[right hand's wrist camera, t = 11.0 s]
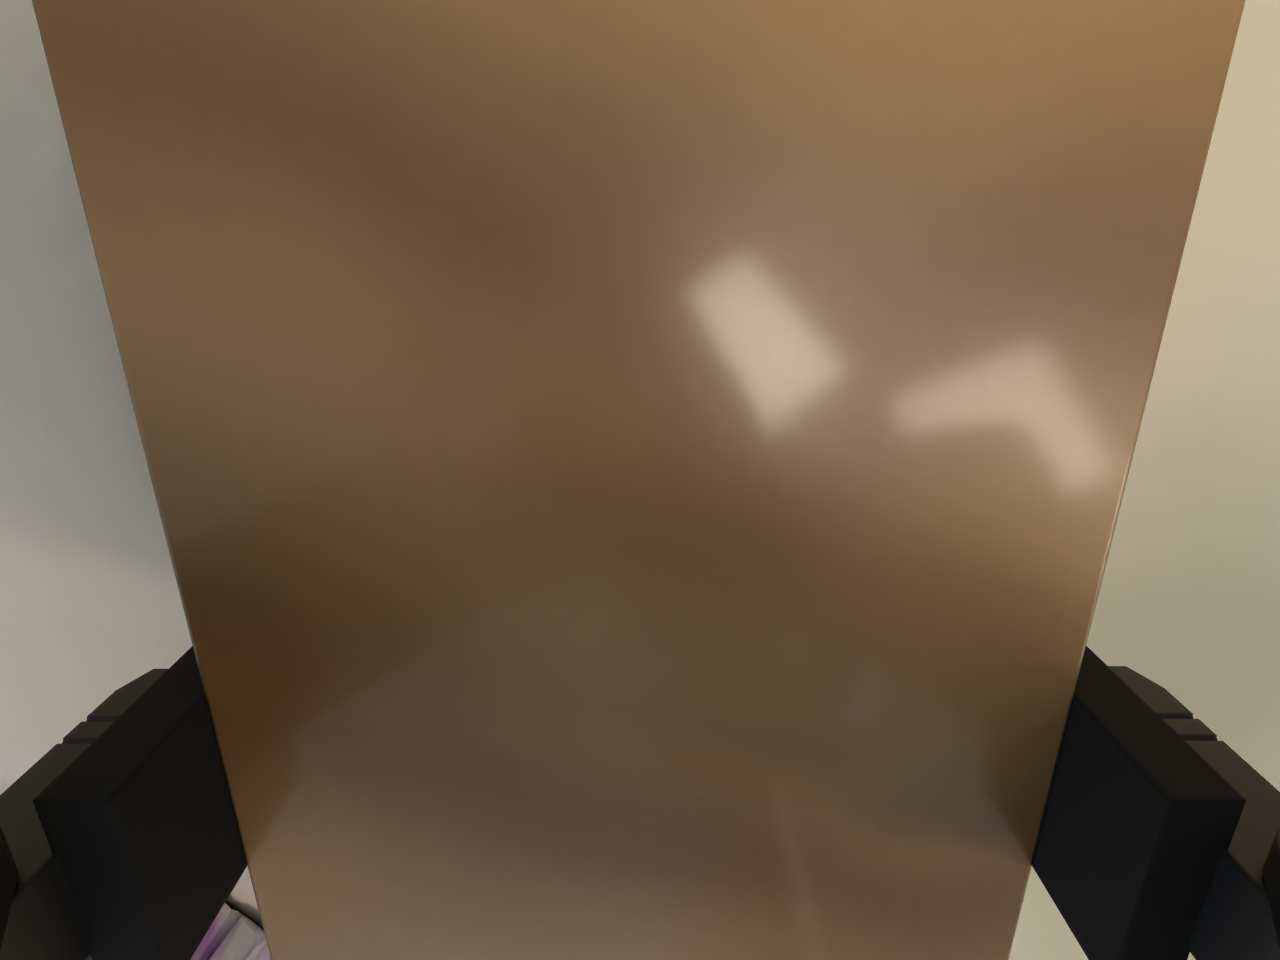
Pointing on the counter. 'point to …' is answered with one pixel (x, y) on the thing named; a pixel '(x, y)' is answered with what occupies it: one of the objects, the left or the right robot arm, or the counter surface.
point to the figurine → (231, 939)
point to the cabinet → (639, 440)
